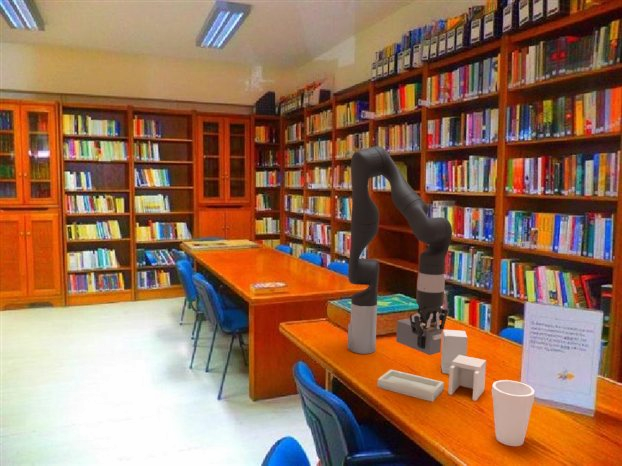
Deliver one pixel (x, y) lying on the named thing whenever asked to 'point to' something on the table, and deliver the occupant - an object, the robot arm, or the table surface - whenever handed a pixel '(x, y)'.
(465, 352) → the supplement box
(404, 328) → the grey rectangular block
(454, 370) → the bay
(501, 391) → the foam cup
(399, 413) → the table surface
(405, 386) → the tray
